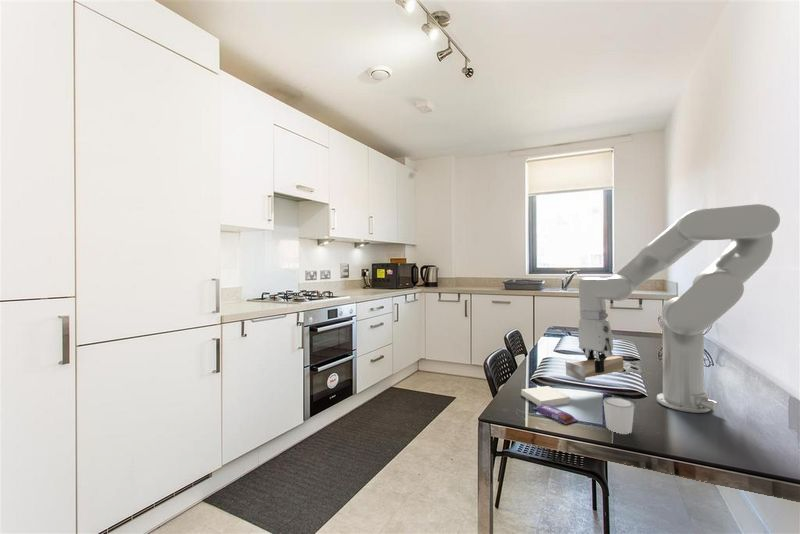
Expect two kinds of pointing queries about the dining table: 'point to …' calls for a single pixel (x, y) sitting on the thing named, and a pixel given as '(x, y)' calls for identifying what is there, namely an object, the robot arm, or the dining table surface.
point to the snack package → (556, 414)
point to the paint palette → (630, 367)
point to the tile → (545, 396)
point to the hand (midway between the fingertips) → (596, 370)
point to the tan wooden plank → (593, 367)
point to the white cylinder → (618, 414)
